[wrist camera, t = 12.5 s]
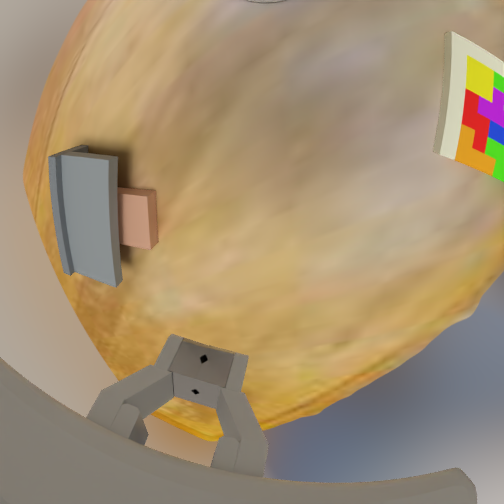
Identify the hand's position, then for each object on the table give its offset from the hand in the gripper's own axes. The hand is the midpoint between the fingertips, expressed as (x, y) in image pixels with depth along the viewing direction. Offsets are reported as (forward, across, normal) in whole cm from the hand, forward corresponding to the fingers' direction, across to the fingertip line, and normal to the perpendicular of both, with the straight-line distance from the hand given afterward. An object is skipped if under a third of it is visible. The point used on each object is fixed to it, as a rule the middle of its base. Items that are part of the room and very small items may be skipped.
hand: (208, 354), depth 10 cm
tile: (+35, +26, +14) cm, 45 cm away
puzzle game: (+35, -37, -17) cm, 54 cm away
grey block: (+34, +30, +14) cm, 48 cm away
